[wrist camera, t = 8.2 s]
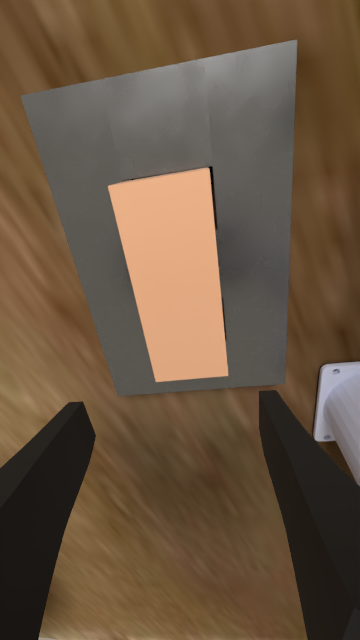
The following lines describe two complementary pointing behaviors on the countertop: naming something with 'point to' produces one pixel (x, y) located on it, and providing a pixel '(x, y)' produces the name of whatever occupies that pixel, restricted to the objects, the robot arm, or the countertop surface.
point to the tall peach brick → (174, 271)
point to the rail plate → (173, 156)
